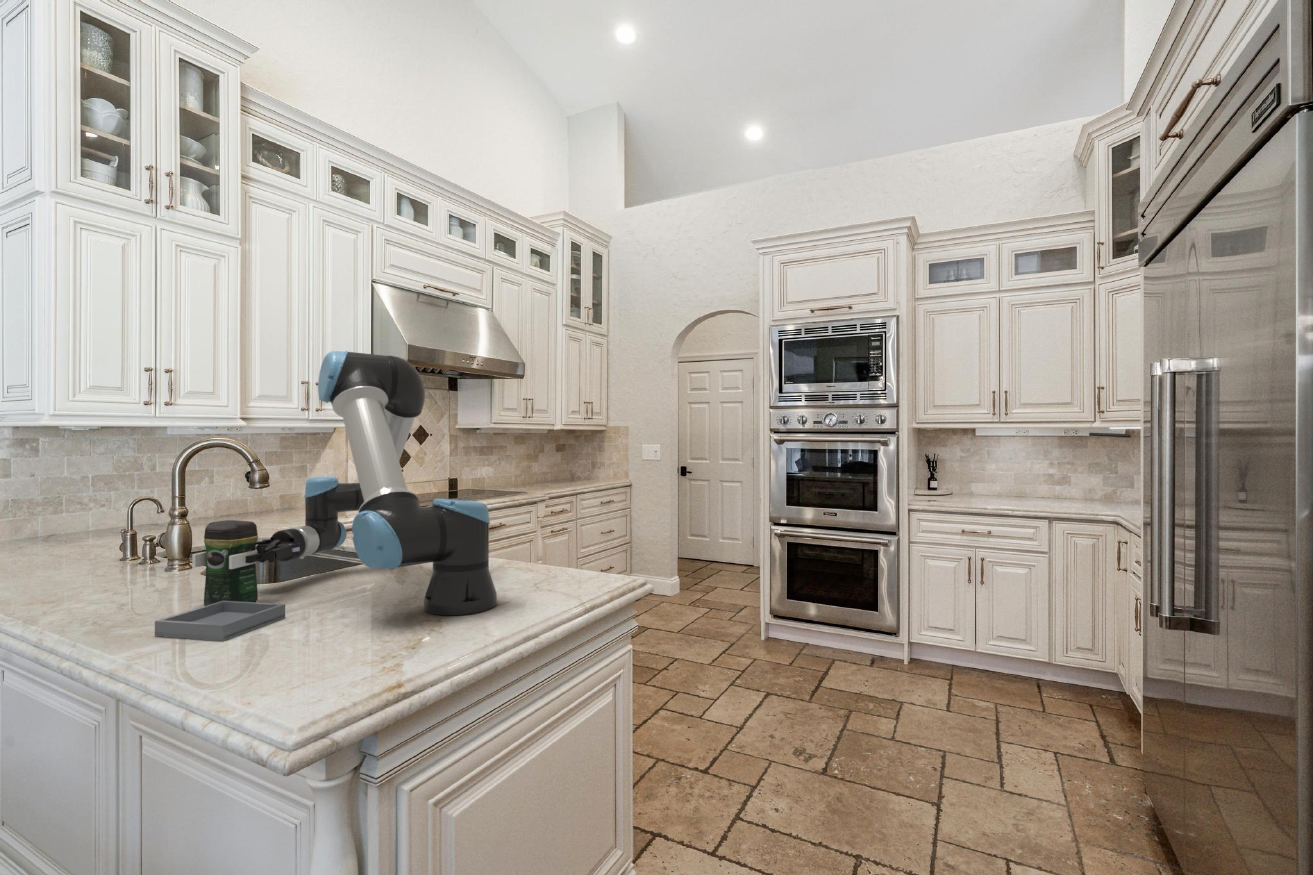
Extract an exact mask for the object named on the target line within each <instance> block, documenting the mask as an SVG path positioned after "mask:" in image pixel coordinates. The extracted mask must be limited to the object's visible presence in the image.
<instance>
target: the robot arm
mask: <svg viewBox="0 0 1313 875" xmlns="http://www.w3.org/2000/svg"><path fill="white" fill-rule="evenodd" d="M318 375H319V376H318V384H317V393H318V399H319V400H320V401H322V402H323V403H325V404H326V403H327V404H328V403H331V407H332V410H333V412H334V413H335V414H336V415H337V416H339V417H340V418H342V419H343V420H342V421H343V424H344V428H345V432H346V435H347V440H348V443H349V447H350V448H349V449H350V451H351V455H352V458H353V463H354V468H355V471H356V475H357V478H358V482H350V483H348V482H344V483H343V482H342V483H341V482H340V483H339V479H338V478H337V477H336V476H315V477H309V478H308V479H307V480H306V482H305V487H304V488H305V491H304V505H305V506H304V507H305V508H304V509H305V510H304V511H305V512H304V513H305V518H304V519H305V521H304V523H305V524H304V525H302V526H301V525H300V526H296V527H291V528H287V529H282V530H277V531H275V533H273V535H272V536H271V537H270V538H268V539H267V538H266V539H263V540H261V541H257V542H256V547H255V550H254V551H249V552H245V553H240V554H236V555H231V556H229V569H235V568H239V567H243V566H247V565H251V564H255V565H256V564H258V563H262V564H263V563H265V562H267V561H268V562H269V563H274V562H277V561H279V562H288V561H292V560H296V559H298V558H299V559H300V560H304V558H305V557H307V556H310V555H314V554H320V553H323V552H329V551H332V550H335V549H337V548H338V547H341V546H342V545H343V544H344V543H345V541H346V539H347V529H346V528H345V525H344V524H343V523H342V522H341V521H339V513H341V512H342V513H345V512H346V513H347V512H356V511H357V512H358V513H357V514H355V516H354V518H353V521H352V526H351V528H352V529H351V532H352V534H353V535H352V536H353V537H352V542H353V546H354V547H353V548H354V550H355V552H356V555H357V557H358V558H359V560H360V561H361V563H362V564H363V565H364V566H366V567H368V568H369V569H371V570H383V569H384V570H385V569H387V570H395V569H397V568H402V567H408V566H415V565H421V564H422V565H423V564H428V563H432V573H431V577H430V580H429V582H428V586H427V589H426V590H425V591H426V592H425V594H424V595H425V596H424V598H423V610H424V611H425V612H426V613H428V614H432V615H438V616H461V615H472V614H477V613H481V612H485V611H488V610H491V609H493V608H495V607H496V605H498V604H497V603H498V602H497V601H498V599H497V598H498V594H497V590H496V587H495V584H494V582H493V578H492V574H491V571H490V569H489V567H490V566H489V562H490V560H489V557H490V556H489V555H490V513H489V507H488V506H487V504H485V503H483V502H480V501H472V500H462V499H451V498H434V499H433V501H432V504H431V506H421V505H420V501H419V497H418V496H417V494H416V493H415V492H412V491H410V490H408V488H407V484H406V481H405V476H404V473H403V470H402V466H401V464H400V460H401V457H402V454H403V451H404V449H405V447H406V443H407V441H408V438H409V435H410V432H411V430H412V426H413V424H414V422H415V418H418V417H419V416H420V415H421V413H422V411H423V409H424V405H425V399H426V391H425V385H424V381H423V379H422V376H421V375H420V373H419V372H418V370H417V369H416V367H415V366H414V365H413V364H412V363H410V362H409V361H407V360H406V359H404V358H402V357H400V356H395V355H385V354H384V355H382V354H375V353H373V354H371V353H364V352H363V353H362V352H353V351H348V350H345V351H335V350H333V351H329V352H328V353H326V354H325V356H324V357H323V360H322V363H321V365H320V370H319V374H318ZM206 562H207V555H206V551H203V552H197V553H194V554H193V553H192V566H191V567H192V568H198V567H203V566H206Z"/></svg>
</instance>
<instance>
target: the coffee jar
mask: <svg viewBox="0 0 1313 875" xmlns="http://www.w3.org/2000/svg"><path fill="white" fill-rule="evenodd" d="M203 534H204V536H203V543H204V546H205V552H206V555H207V562H206V565H205V566H206V567H205V580H204V581H205V583H204V594H203V607H204V606H207V605H210V604H214V603H217V602H220V601H239V602H256V603H258V597H259V595H258V594H259V593H258V583H257V582H258V580H257V569H256V567H257V566H256V563H255V564H251V565H247V566H243V567H239V568H235V569H229V556H231V555H236V554H240V553H245V552H249V551H254V550H255V547H256V542H258V540H259V535H258V534H259V533H258V528H257V524H256V523H255V522H254V521H252V520H251V521H250V520H248V521H247V520H238V519H237V520H235V519H234V520H233V519H230V520H229V519H228V520H227V519H226V520H219V521H218V520H217V521H214V522H212V521H211V522H208V524H207V525H206V526H205V530H204V533H203Z"/></svg>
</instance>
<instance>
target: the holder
mask: <svg viewBox="0 0 1313 875" xmlns="http://www.w3.org/2000/svg"><path fill="white" fill-rule="evenodd" d="M283 619H286V604H285V603H275V602H274V603H272V602H271V603H270V602H239V601H220V602H217V603H214V604H210V605H207V606H204V605H203V606H200V607H198V608H194V609H192V610H188V611H184V612H182V613H181V612H180V613H178V614H174V615H171V616H168V617H164V618H161V619H158V620H155V621H154V637H156V636H164V637H163V638H170V637H171V638H172V639H173V638H174V639H184V638H186V639H187V640H201V641H216V642H225V641H228V640H230V639H233V638H235V637H238V636H241V635H244V634H246V633H249V632H252V631H255V630H258V629H260V628H262V627H266V626H267V625H270V624H274V623H276V622H279V621H281V620H283ZM165 636H166V637H165Z"/></svg>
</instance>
